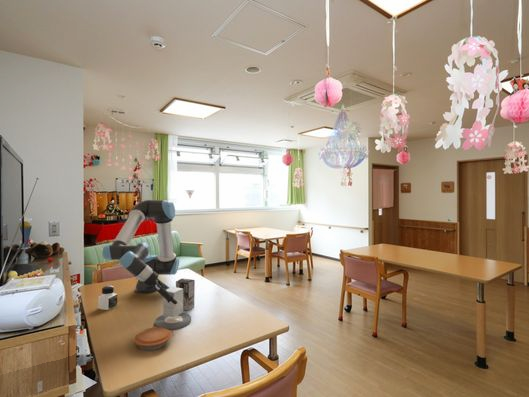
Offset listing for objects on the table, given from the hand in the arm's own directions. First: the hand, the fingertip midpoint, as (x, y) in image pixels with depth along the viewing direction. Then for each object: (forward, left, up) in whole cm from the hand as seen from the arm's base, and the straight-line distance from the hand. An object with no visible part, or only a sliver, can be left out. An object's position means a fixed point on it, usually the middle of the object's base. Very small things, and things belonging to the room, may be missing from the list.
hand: (179, 303), depth 150 cm
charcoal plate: (+2, -2, -9) cm, 10 cm away
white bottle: (-5, -48, -10) cm, 50 cm away
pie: (+24, +1, -10) cm, 25 cm away
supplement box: (+2, -3, -5) cm, 6 cm away
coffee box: (-16, -5, -10) cm, 20 cm away
